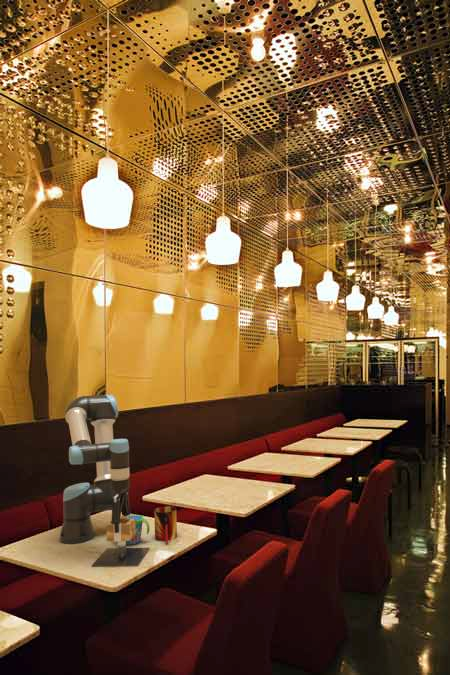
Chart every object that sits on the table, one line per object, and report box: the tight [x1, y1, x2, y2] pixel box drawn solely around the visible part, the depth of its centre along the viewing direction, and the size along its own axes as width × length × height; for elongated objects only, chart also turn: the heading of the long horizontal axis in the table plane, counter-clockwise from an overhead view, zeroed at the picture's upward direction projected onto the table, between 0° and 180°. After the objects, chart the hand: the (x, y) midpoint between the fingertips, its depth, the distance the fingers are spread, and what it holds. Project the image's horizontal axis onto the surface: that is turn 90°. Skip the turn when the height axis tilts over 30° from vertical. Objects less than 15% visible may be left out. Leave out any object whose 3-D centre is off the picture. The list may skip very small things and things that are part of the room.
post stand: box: [91, 541, 151, 568], centre depth 186 cm, size 18×18×12 cm
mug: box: [153, 506, 178, 543], centre depth 206 cm, size 10×14×12 cm
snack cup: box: [126, 514, 150, 546], centre depth 203 cm, size 16×10×10 cm
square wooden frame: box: [105, 518, 136, 542], centre depth 186 cm, size 9×9×6 cm
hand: (121, 536), depth 186 cm, fingers closed on square wooden frame, 9 cm apart
